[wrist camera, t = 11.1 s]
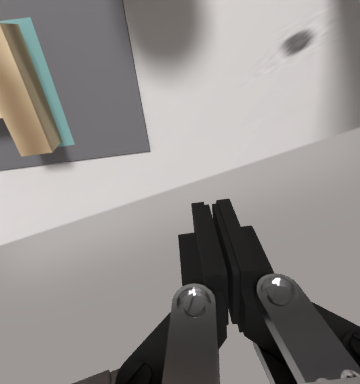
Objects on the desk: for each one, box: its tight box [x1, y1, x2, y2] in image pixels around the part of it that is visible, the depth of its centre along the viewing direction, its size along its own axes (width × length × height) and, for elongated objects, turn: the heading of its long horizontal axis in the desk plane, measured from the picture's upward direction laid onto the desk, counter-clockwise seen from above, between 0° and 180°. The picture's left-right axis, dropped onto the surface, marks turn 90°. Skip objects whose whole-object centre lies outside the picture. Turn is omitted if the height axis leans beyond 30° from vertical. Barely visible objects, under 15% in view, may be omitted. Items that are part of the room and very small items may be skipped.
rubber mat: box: [0, 0, 150, 170], centre depth 33 cm, size 28×20×1 cm
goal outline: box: [0, 17, 75, 147], centre depth 33 cm, size 13×15×1 cm
